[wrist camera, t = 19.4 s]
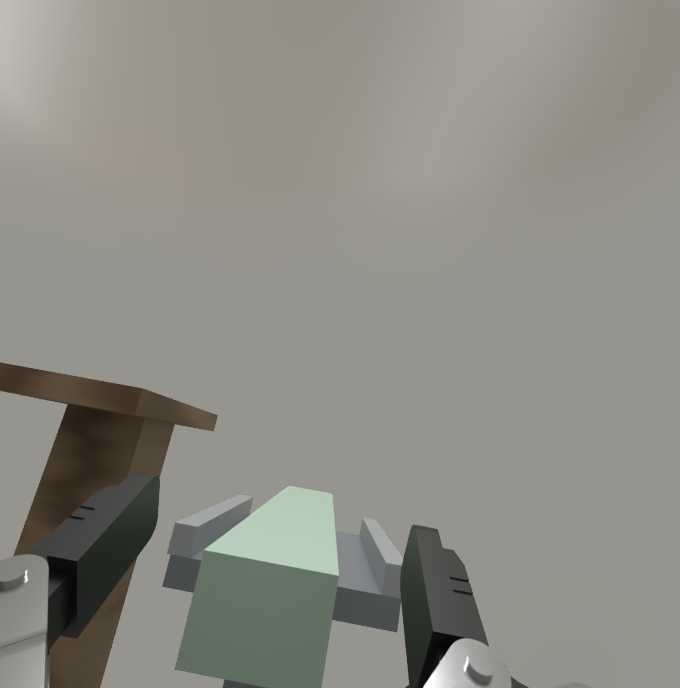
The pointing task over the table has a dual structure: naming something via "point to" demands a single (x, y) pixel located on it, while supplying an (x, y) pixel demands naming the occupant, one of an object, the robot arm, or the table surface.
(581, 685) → the table surface
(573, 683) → the table surface
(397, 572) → the gray pedestal stand
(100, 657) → the brown pedestal stand
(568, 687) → the table surface
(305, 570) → the slide box
